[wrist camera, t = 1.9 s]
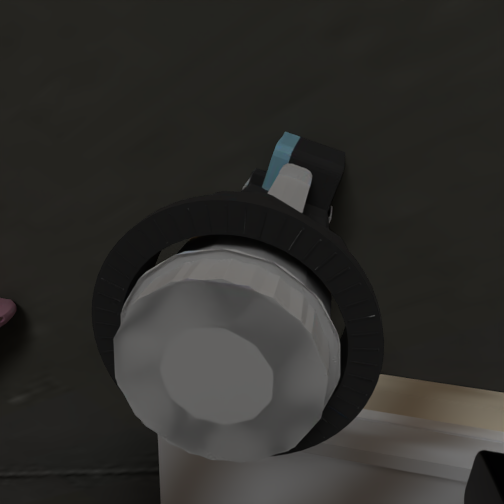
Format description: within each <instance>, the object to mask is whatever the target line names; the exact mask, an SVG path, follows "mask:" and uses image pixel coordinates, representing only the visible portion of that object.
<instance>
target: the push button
mask: <svg viewBox="0 0 504 504" xmlns="http://www.w3.org/2000/svg"><path fill="white" fill-rule="evenodd" d="M344 168H345V152H342V151H339V150H336V149H333V148H330V147H327V146H325V145H322V144H319V143H316V142H313V141H311V140H308V139H305V138H302V137H299V136H296V135H293V134H291V133H288V132H284V134H283V136H282V138H281V139H280V140H279V141H278V143H277V145H276V147H275V150H274V153H273V155H272V158H271V162H270V165H269V168H268V171H267V172H265V171H262V170H260V169H257V168H256V169H255V170H254V171H253V172H252V174H251V177H250V179H249V180H248V181H247V182H246V184H245V186H243V189H242V191H241V192H226V191H221V192H217V193H215V194H213V195H204V196H199V197H193V198H188V199H185V200H182V201H178V202H175V203H173V204H170V205H168V206H166V207H163V208H161V209H159V210H157V211H156V212H154V213H152V214H151V215H149V216H147V217H146V218H145V219H143V220H142V221H141V222H139V223H138V224H137V225H136V226H134V227H133V228H132V229H131V230H129V231H128V232H127V233H126V234H125V235H124V236H123V237H122V238H121V239H120V240H119V241H118V242H117V244H116V245H115V246H114V247H113V249H112V250H111V251H110V253H109V254H108V256H107V258H106V259H105V261H104V263H103V265H102V267H101V270H100V272H99V274H98V277H97V281H96V284H95V287H94V293H93V300H92V322H93V330H94V335H95V340H96V343H97V347H98V350H99V353H100V355H101V358H102V360H103V362H104V365H105V367H106V368H107V370H108V372H109V374H110V376H111V377H112V379H113V380H114V382H115V383H116V385H117V386H118V388H119V389H120V390H121V392H122V393H123V394H124V395H125V397H126V399H127V401H128V402H129V404H130V406H131V408H132V410H133V412H134V413H135V415H136V416H137V417H138V418H140V419H141V420H142V421H143V423H144V424H145V426H147V427H148V428H150V429H151V430H153V431H155V432H156V433H157V434H158V435H160V436H161V437H162V438H163V439H164V440H166V441H167V442H168V443H169V444H172V445H174V446H177V447H179V448H182V449H183V450H185V451H186V452H188V453H190V454H195V455H200V456H202V457H205V458H207V459H210V460H224V461H233V462H239V463H242V462H246V461H249V462H256V461H259V460H261V459H264V458H267V457H270V456H279V455H285V454H290V453H294V452H298V451H302V450H305V449H308V448H310V447H313V446H316V445H318V444H320V443H322V442H324V441H326V440H328V439H329V438H331V437H332V436H334V435H336V434H337V433H339V432H340V431H341V430H342V429H344V428H345V427H346V426H348V425H349V424H350V423H351V422H352V421H353V420H354V419H355V418H356V417H357V416H358V414H359V413H360V412H361V411H362V409H363V408H364V407H365V405H366V404H367V402H368V400H369V399H370V397H371V395H372V394H373V391H374V389H375V387H376V385H377V382H378V379H379V376H380V372H381V369H382V362H383V355H384V337H383V328H382V320H381V314H380V310H379V305H378V301H377V299H376V296H375V293H374V291H373V288H372V286H371V284H370V282H369V280H368V278H367V276H366V274H365V272H364V271H363V269H362V268H361V266H360V265H359V263H358V262H357V260H356V259H355V258H354V256H353V255H352V254H351V253H350V252H349V251H348V249H347V247H346V245H345V243H344V241H343V240H342V238H341V237H339V236H338V235H337V234H335V233H334V232H332V231H330V230H329V223H330V220H331V218H332V217H331V216H332V208H333V206H330V204H331V202H332V199H333V197H334V194H335V192H336V189H337V187H338V184H339V182H340V179H341V177H342V174H343V171H344ZM329 207H330V208H329ZM328 209H329V210H328ZM327 211H328V212H327ZM189 238H190V239H189ZM185 239H189V241H188V242H187V243H186V244H185V245H184V246H183V248H182V249H181V250H180V251H179V252H178V253H177V254H176V255H174V256H172V257H170V258H169V259H167V260H165V261H163V262H162V263H160V264H158V265H157V266H155V264H156V261H157V259H158V256H159V254H160V252H161V250H163V249H164V248H166V247H168V246H170V245H172V244H174V243H177V242H179V241H182V240H185ZM331 296H333V297H334V299H335V301H336V302H337V304H338V306H339V309H340V311H341V313H342V315H343V318H344V322H345V325H346V326H345V329H344V333H343V335H342V337H341V339H340V340H339V336H338V333H337V331H336V329H335V327H334V325H333V323H332V321H331V319H330V313H331Z"/></svg>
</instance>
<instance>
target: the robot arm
mask: <svg viewBox="0 0 504 504" xmlns="http://www.w3.org/2000/svg"><path fill="white" fill-rule="evenodd" d="M464 504H504V453H499V452H493V451H487V450H481V451H479V452H478V453H477V455H476V456H475V459H474V462H473V466H472V469H471V472H470V475H469V478H468V482H467V485H466V488H465V493H464Z"/></svg>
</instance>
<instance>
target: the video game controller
mask: <svg viewBox="0 0 504 504" xmlns="http://www.w3.org/2000/svg"><path fill="white" fill-rule="evenodd" d="M15 312H16V304H15V303H14V302H13V301H12V300H10V299H3V298H0V327H1V326H3V325H4V324H6V323H7V322H8V321H9V320H10V319H11V318H12V317H13V315H14V314H15Z"/></svg>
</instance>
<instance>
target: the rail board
mask: <svg viewBox="0 0 504 504" xmlns="http://www.w3.org/2000/svg"><path fill="white" fill-rule="evenodd" d="M142 423H143V421H142ZM143 424H144V423H143ZM158 448H159V473H160V497H161V504H464V493H465V488H466V485H467V482H468V478H469V475H470V472H471V469H472V466H473V462H474V459H475V456H476V455H477V453H478V452H479V451H481V450H487V451H493V452H499V453H504V393H502V392H495V391H488V390H482V389H475V388H469V387H462V386H455V385H449V384H442V383H436V382H429V381H422V380H416V379H409V378H403V377H396V376H389V375H383V374H380V376H379V379H378V382H377V385H376V387H375V389H374V391H373V394H372V395H371V397H370V399H369V400H368V402H367V404H366V405H365V407H364V408H363V409H362V411H361V412H360V413H359V414H358V416H357V417H356V418H355V419H354V420H353V421H352V422H351V423H350V424H349V425H348V426H346V427H345V428H344V429H342V430H341V431H340V432H339V433H337V434H336V435H334V436H332V437H331V438H329V439H328V440H326V441H324V442H322V443H320V444H318V445H316V446H313V447H310V448H308V449H305V450H302V451H298V452H294V453H290V454H285V455H279V456H270V457H267V458H264V459H261V460H259V461H256V462H249V461H246V462H242V463H239V462H233V461H224V460H210V459H207V458H205V457H202V456H200V455H195V454H190V453H188V452H186V451H185V450H183V449H182V448H179V447H177V446H174V445H172V444H169V443H168V442H167V441H166V440H164V439H163V438H162V437H161V436H160V435H158Z"/></svg>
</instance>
